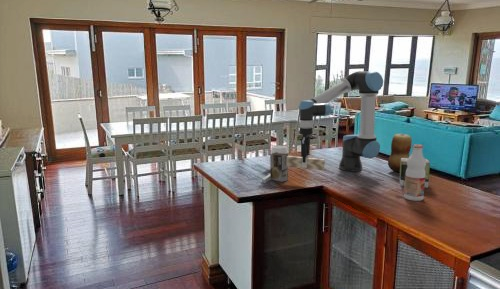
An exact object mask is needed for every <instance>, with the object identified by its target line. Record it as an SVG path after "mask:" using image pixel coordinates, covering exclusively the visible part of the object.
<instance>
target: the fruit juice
mask: <svg viewBox="0 0 500 289" xmlns="http://www.w3.org/2000/svg"><path fill="white" fill-rule="evenodd" d="M411 148H412V152H411V154H410V155H409V158H408V159H407V169H406V174H405V186H403V187H404V190H403V197H404V198H405V200H409V201H415V202H419V201H423V200H424V195H425V187H424V186H425V175H426V172H425V166H426V160H425V159H426V158H425V157H424V154H423V149H424V145H423V144H417V143H415V144H413V145H411Z"/></svg>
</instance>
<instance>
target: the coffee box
mask: <svg viewBox="0 0 500 289" xmlns="http://www.w3.org/2000/svg"><path fill="white" fill-rule="evenodd" d="M287 156H289V153H287V154H285V153H278V152H276V153H272V154H271V153H270V154H269V158H270V159H269V160H270V161H269V163H270V167H269V168H270V170H269V171H270V173H269V174H270V175H271V179H270V180H272V181H276V182H280V183H281V182H285V181H288V180H289V179H288V177H289V176H288V175H289V174H288V173H289V167H287V166H286V160H287Z"/></svg>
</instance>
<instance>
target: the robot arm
mask: <svg viewBox="0 0 500 289" xmlns="http://www.w3.org/2000/svg"><path fill="white" fill-rule="evenodd" d="M383 86H384V79H383V76H382V74H381V73H379V72H378V71H374V70H368V71H367V70H366V71H363V70H362V71H361V70H359V71H355V72H352V73H350V74H349V75H347V76H345V77H343V78H341V79H340V81H339V82H338V83H336V84H335V85H333V86H331V87H329V88H327V89H326V90H324V91H322V92H320V93H319V94H318V95H316V96H314V97H312V98H311V99H309V100H307V99H304V100H301V101H300V103H299V105H298V110H299V121H298V123H299V129H298V132H299V134H300V135H301V136H302V137H301V140H300V147H301V148H300V149H301V151H300V154H301V155H300V157H302V168H301V169H305V168H307V157H308V158H310V157H309V156H311V153H310V151H311V150H310V148H311V147H310V146H311V136H310V135H313V131H314V129H313V127H314V117H328V116H329V115H331V113H332V106H331V104H330V103H331V102H332V101H333V100H336V99H337V98H339V97H340V96H342V95H344V94H345V93H350V92H352V91H358V94H359V96H360V97H361V98H360V100H361V101H360V125H359V127H360V128H359V134H346V135H343V138H342V154H341V159H340V162H339V166H338V169H340V170H342V171H346V172H359V171H362V170H363V164H362V161H361V157H362V158H364V159H374V158H375V157H377V156H378V154H379V153H380V151H381V144H380V143H379V141H377V135H376V134H375V122H376V103H377V102H376V101H377V100H376V98H377V96H378V94H379V91H380V90H382V88H383Z"/></svg>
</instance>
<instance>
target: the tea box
mask: <svg viewBox="0 0 500 289" xmlns="http://www.w3.org/2000/svg"><path fill="white" fill-rule="evenodd" d="M407 159H408V158H401V163H400V172H399V185H400V186H401V187H402V186H403V187H405V174H406V169H407ZM425 160H426V166H425V172H426V175H425V186H424V188H427V189H428V188H429V184H430V183H429V181H430V167H431V166H430V165H431V163H430V161H429V159H427V158H425Z"/></svg>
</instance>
